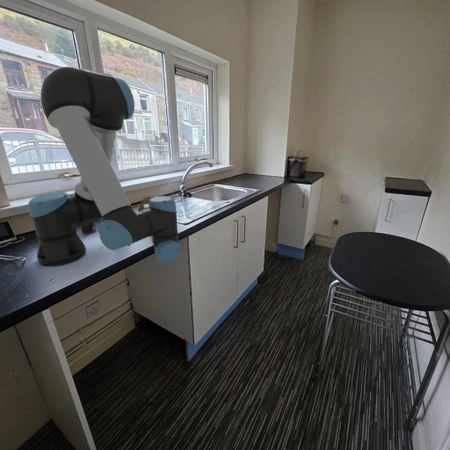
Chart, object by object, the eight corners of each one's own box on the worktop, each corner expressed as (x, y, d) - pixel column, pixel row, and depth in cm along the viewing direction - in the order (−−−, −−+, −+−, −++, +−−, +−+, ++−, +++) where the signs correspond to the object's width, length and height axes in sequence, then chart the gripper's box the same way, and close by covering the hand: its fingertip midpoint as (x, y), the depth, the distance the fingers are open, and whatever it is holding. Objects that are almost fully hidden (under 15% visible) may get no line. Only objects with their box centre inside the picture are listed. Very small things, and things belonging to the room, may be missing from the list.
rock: (139, 214, 128) (156, 208, 134) (132, 200, 129) (150, 195, 135) (136, 221, 138) (153, 215, 143) (130, 207, 138) (146, 202, 144)
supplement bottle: (99, 230, 113) (94, 207, 109) (87, 235, 108) (81, 211, 104) (91, 228, 116) (86, 205, 112) (79, 232, 111) (73, 209, 107)
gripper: (144, 248, 82) (140, 224, 103) (181, 242, 87) (171, 221, 107) (141, 227, 80) (138, 208, 100) (180, 223, 84) (169, 205, 104)
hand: (155, 214), depth 104 cm, fingers closed
